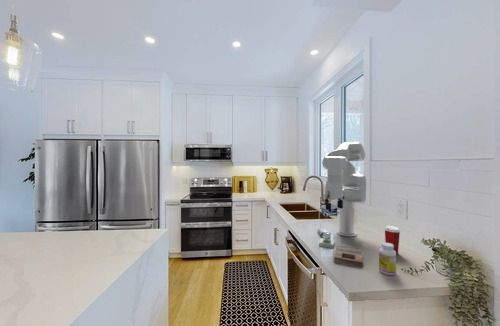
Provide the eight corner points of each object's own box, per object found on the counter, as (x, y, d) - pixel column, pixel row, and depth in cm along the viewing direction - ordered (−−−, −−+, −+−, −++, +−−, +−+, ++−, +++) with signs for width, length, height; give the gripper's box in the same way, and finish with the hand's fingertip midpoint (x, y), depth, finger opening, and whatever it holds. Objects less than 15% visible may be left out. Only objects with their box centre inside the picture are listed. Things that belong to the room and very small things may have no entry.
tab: (321, 241, 140) (321, 238, 140) (334, 243, 137) (334, 240, 137) (319, 245, 133) (319, 242, 133) (333, 248, 130) (333, 244, 130)
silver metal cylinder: (323, 239, 138) (323, 231, 138) (331, 240, 136) (331, 232, 136) (322, 241, 134) (322, 233, 134) (330, 243, 132) (330, 234, 132)
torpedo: (329, 240, 143) (329, 230, 143) (322, 240, 144) (322, 229, 144) (322, 231, 161) (322, 222, 161) (315, 231, 162) (315, 222, 162)
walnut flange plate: (336, 250, 126) (336, 245, 126) (362, 254, 121) (362, 249, 121) (334, 262, 112) (334, 256, 112) (362, 267, 106) (362, 261, 106)
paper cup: (397, 251, 125) (398, 226, 125) (402, 256, 118) (402, 230, 118) (382, 249, 128) (382, 225, 128) (385, 254, 121) (385, 229, 121)
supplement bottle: (375, 268, 105) (376, 241, 105) (389, 268, 105) (389, 241, 105) (385, 276, 98) (385, 247, 98) (399, 275, 99) (399, 246, 99)
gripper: (339, 177, 132) (339, 206, 132) (318, 178, 123) (318, 209, 124) (350, 178, 125) (350, 208, 126) (329, 180, 117) (328, 212, 117)
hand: (334, 209), depth 125 cm, fingers open, 9 cm apart
